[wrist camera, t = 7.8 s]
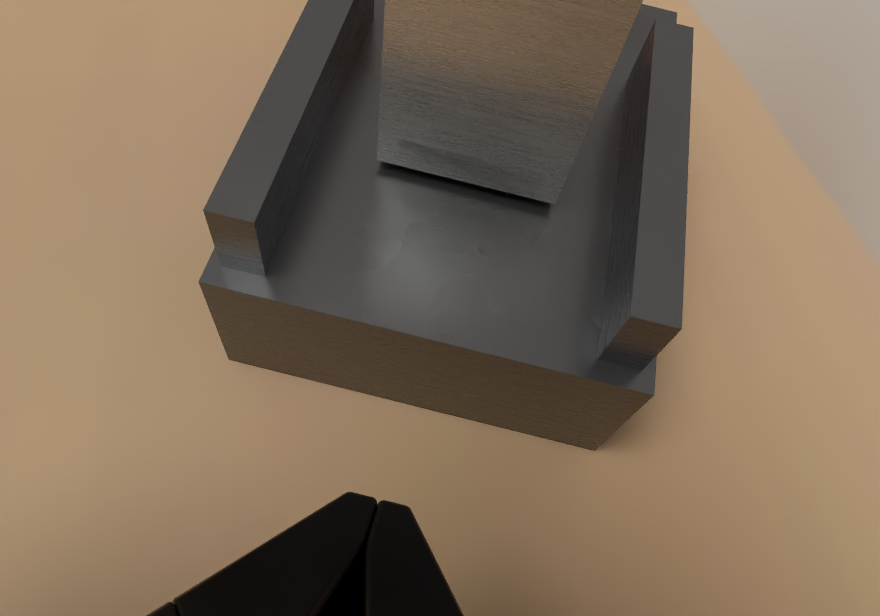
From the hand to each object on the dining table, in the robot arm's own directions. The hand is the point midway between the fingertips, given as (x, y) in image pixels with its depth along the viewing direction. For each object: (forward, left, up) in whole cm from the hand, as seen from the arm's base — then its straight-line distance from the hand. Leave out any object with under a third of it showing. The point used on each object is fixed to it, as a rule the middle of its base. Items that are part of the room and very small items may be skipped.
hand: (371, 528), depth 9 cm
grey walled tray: (+4, +11, -8) cm, 14 cm away
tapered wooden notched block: (+5, +13, -3) cm, 14 cm away
